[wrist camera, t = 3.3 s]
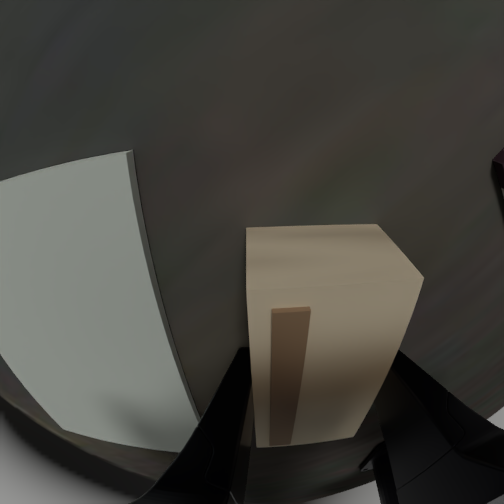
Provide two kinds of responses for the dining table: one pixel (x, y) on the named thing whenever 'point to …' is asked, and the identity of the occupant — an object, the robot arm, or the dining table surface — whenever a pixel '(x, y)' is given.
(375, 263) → the grooved tan block
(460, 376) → the dining table surface
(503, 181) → the chocolate bar
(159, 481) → the robot arm
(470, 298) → the dining table surface
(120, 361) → the sage mat
